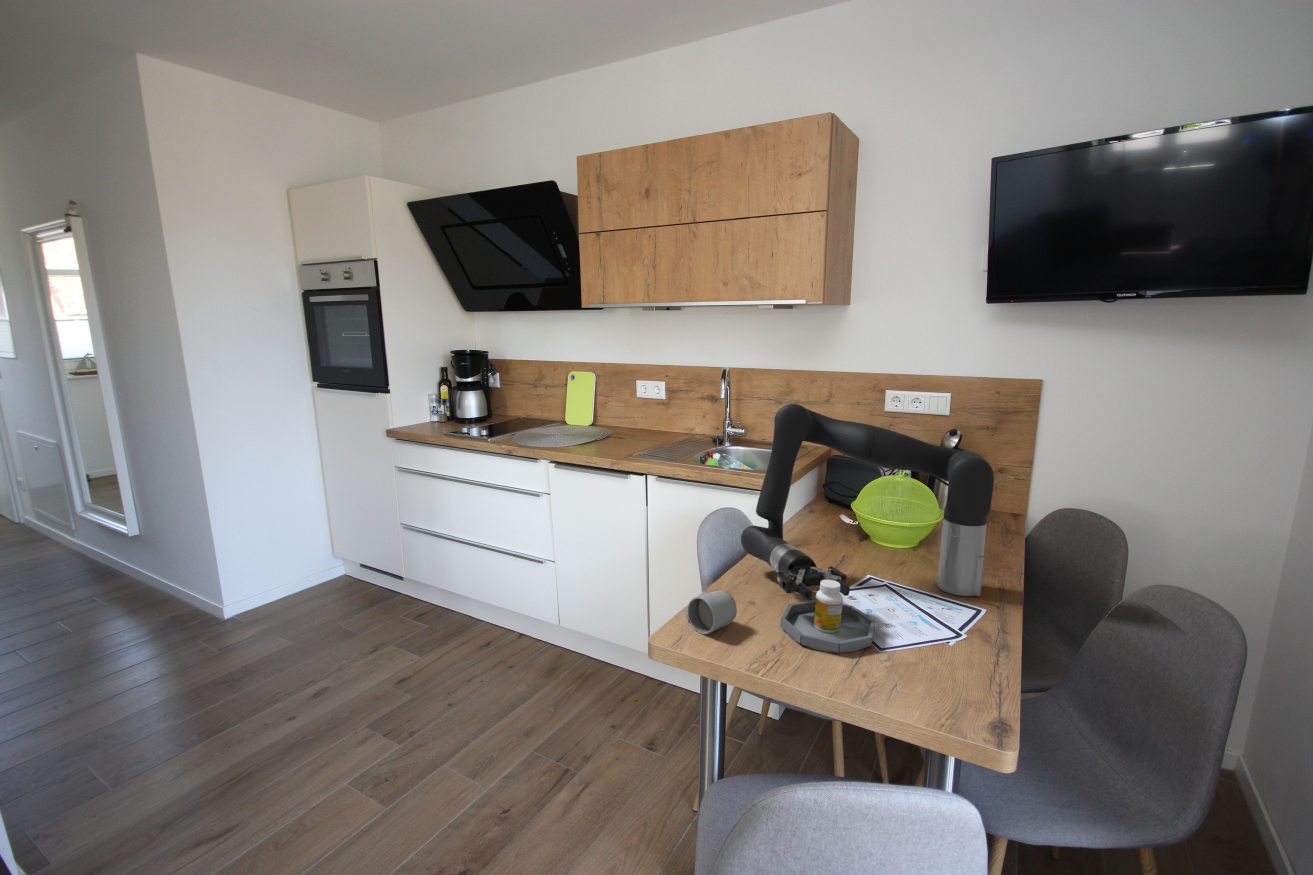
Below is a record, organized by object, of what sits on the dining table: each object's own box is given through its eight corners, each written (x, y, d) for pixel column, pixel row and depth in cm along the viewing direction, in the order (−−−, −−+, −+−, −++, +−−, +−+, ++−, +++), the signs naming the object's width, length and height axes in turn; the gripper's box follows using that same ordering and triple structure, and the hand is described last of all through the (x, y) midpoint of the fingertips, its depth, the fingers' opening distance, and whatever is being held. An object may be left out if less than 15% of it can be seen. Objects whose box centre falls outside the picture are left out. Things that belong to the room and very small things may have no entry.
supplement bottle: (809, 621, 128) (812, 578, 126) (834, 620, 129) (837, 577, 127) (819, 634, 123) (822, 589, 121) (844, 633, 123) (848, 588, 122)
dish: (877, 620, 130) (878, 610, 130) (868, 661, 114) (868, 649, 114) (793, 604, 137) (794, 594, 137) (773, 640, 121) (774, 629, 121)
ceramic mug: (739, 626, 127) (739, 592, 126) (713, 640, 122) (713, 604, 120) (701, 610, 135) (701, 577, 134) (676, 622, 129) (675, 588, 128)
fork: (896, 537, 185) (897, 531, 185) (837, 521, 199) (838, 515, 199) (901, 535, 187) (902, 529, 187) (843, 519, 201) (843, 513, 201)
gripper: (764, 551, 137) (798, 579, 122) (820, 546, 141) (860, 573, 126) (763, 582, 139) (797, 614, 123) (818, 576, 142) (858, 606, 127)
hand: (829, 593), depth 124 cm, fingers open, 8 cm apart
